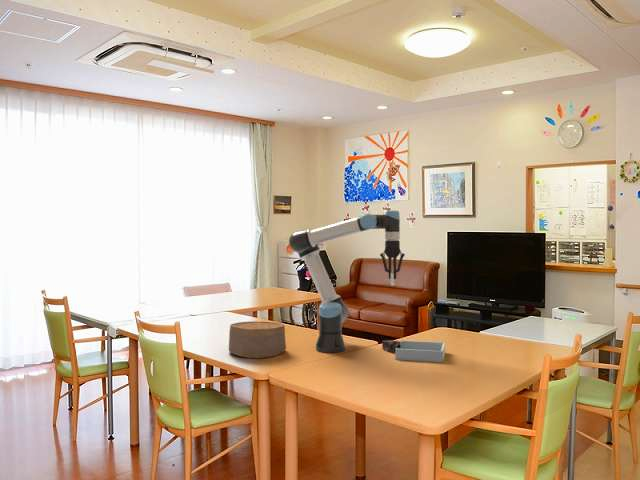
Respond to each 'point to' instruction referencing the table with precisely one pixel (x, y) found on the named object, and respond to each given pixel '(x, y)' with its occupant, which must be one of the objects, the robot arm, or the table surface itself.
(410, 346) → the walled box
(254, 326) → the container
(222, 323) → the table surface
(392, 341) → the electronic device
